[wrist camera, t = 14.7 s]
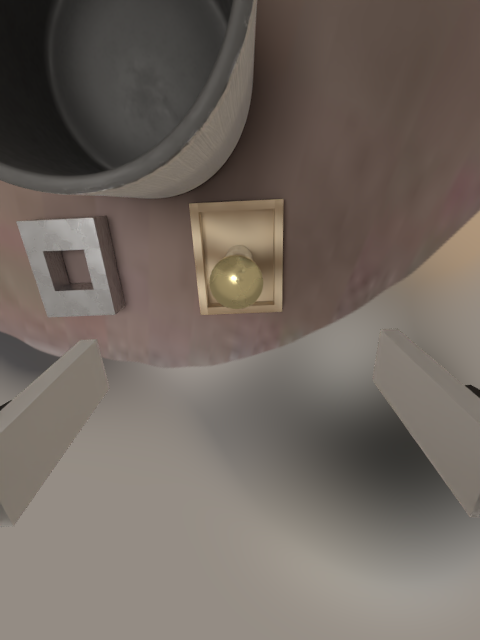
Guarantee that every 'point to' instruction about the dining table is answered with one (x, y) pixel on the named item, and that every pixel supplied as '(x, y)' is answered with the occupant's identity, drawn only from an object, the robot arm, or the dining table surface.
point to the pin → (236, 279)
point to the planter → (122, 93)
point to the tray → (239, 229)
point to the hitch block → (50, 269)
